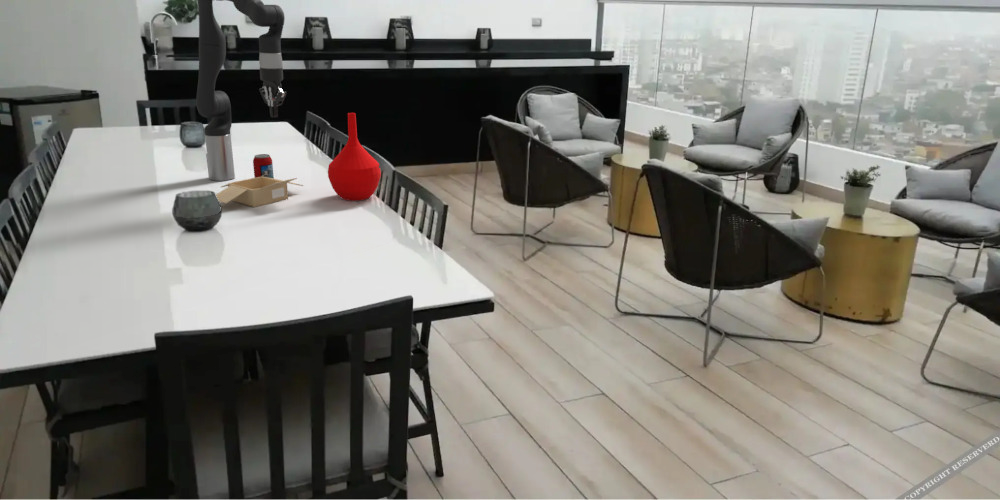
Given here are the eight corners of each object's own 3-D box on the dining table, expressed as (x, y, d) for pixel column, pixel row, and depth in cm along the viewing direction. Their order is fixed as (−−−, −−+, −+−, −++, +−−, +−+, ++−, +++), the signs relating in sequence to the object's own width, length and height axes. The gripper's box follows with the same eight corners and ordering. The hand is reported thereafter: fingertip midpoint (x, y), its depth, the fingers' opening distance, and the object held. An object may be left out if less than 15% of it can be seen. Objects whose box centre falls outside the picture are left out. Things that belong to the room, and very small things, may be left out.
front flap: (274, 182, 242) (274, 183, 242) (296, 177, 249) (296, 178, 249) (259, 188, 248) (259, 189, 248) (281, 183, 255) (281, 184, 255)
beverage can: (268, 190, 270) (266, 158, 266) (252, 189, 271) (248, 156, 268) (277, 185, 276) (275, 154, 273) (261, 184, 278) (258, 153, 274)
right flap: (231, 185, 253) (231, 185, 253) (209, 198, 247) (210, 198, 247) (247, 189, 247) (247, 190, 248) (225, 202, 242) (225, 203, 242)
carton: (214, 196, 261) (213, 179, 259) (268, 184, 278) (267, 168, 277) (254, 207, 248) (252, 190, 246) (308, 194, 266) (307, 178, 264)
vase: (390, 193, 268) (387, 111, 258) (365, 206, 252) (362, 119, 242) (346, 189, 274) (342, 108, 264) (319, 201, 257) (313, 115, 248)
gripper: (292, 67, 250) (294, 118, 256) (268, 63, 257) (271, 113, 263) (273, 68, 244) (276, 121, 250) (250, 64, 252) (253, 115, 258)
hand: (274, 117), depth 257 cm, fingers closed
